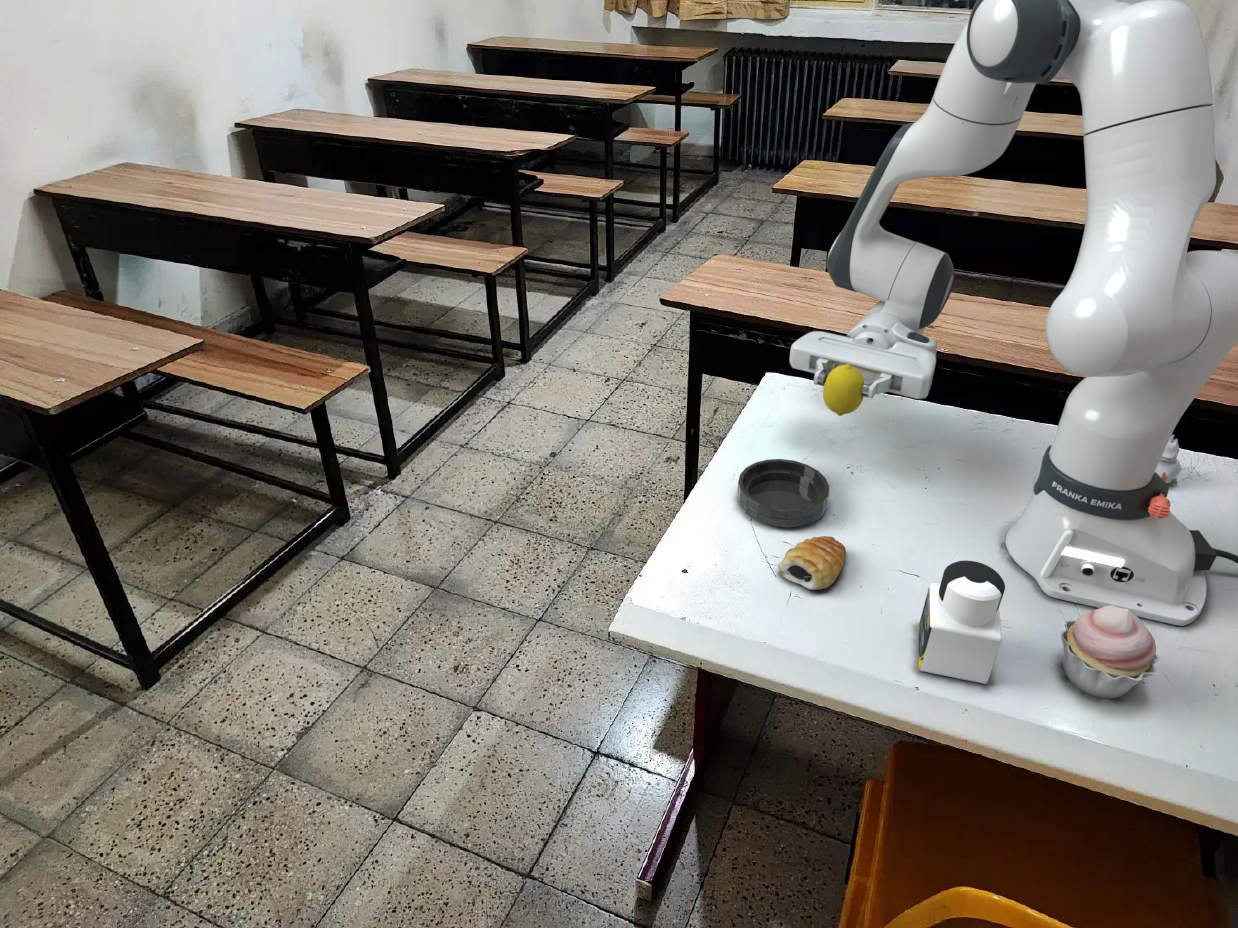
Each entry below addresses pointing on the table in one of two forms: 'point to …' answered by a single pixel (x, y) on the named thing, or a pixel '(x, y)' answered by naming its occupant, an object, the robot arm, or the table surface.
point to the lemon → (843, 389)
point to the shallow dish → (783, 492)
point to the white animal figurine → (1169, 461)
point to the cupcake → (1108, 651)
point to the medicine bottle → (962, 623)
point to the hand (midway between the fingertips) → (842, 386)
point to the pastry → (814, 562)
